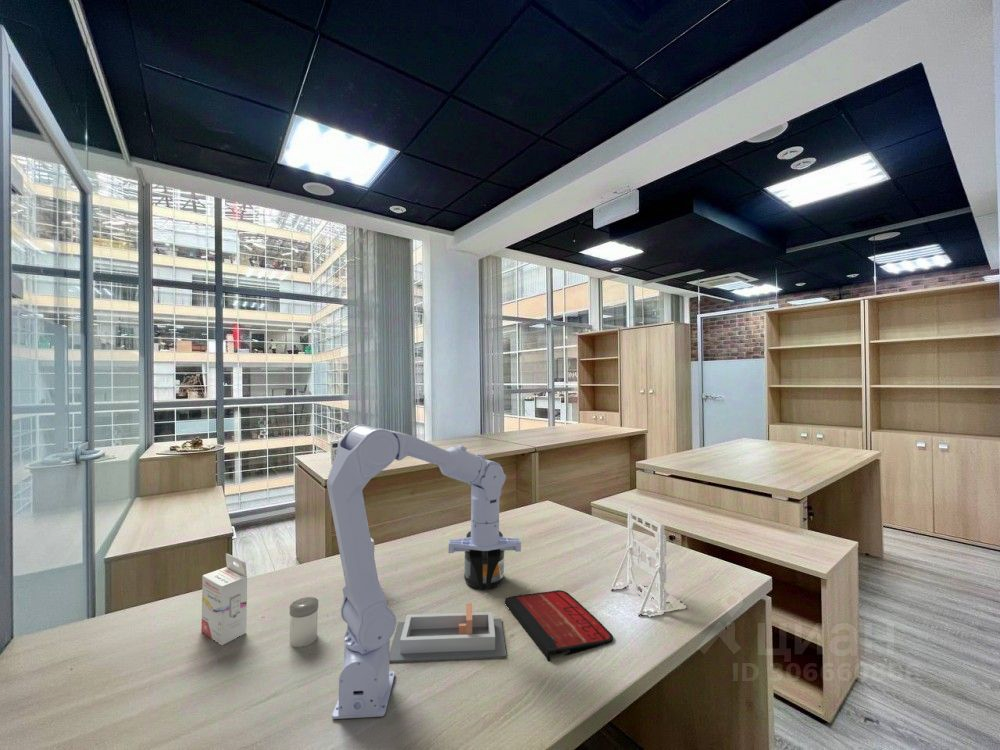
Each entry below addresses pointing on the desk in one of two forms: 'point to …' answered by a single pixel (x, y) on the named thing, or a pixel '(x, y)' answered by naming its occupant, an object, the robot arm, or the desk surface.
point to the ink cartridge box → (225, 601)
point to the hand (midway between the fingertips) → (484, 586)
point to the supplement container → (483, 569)
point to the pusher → (467, 621)
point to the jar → (303, 621)
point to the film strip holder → (658, 555)
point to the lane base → (447, 638)
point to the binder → (558, 622)
